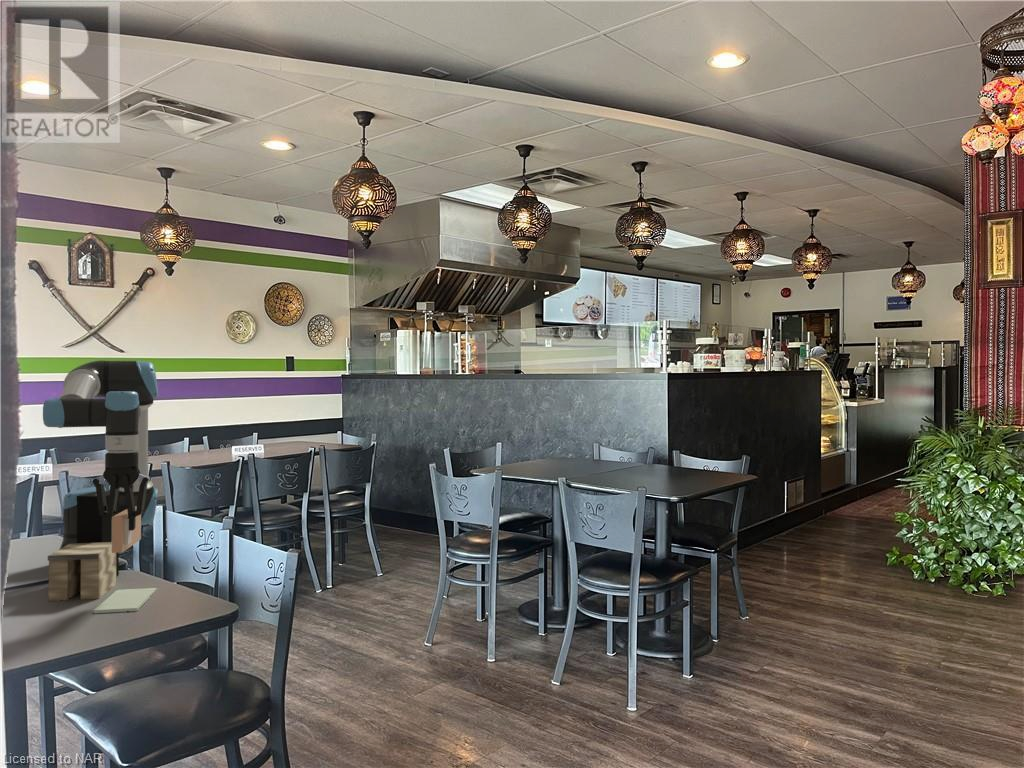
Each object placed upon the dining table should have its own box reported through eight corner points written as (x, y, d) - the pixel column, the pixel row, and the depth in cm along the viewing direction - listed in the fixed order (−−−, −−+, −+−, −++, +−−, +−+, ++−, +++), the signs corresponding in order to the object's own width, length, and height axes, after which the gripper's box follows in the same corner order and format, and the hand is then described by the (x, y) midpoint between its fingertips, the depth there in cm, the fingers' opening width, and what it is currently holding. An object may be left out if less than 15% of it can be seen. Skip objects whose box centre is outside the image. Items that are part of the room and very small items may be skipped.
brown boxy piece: (69, 586, 205) (69, 543, 204) (116, 584, 207) (116, 542, 207) (47, 602, 190) (47, 556, 190) (97, 599, 192) (98, 554, 192)
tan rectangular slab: (131, 539, 198) (131, 506, 198) (140, 539, 199) (141, 506, 199) (111, 552, 183) (111, 517, 183) (122, 552, 183) (122, 516, 183)
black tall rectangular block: (119, 575, 216) (119, 481, 216) (101, 583, 208) (102, 485, 208) (94, 574, 217) (94, 480, 217) (75, 582, 209) (76, 484, 209)
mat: (117, 592, 199) (117, 589, 199) (156, 590, 201) (156, 587, 201) (93, 613, 181) (93, 610, 181) (137, 611, 183) (137, 607, 183)
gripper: (83, 453, 181) (82, 547, 181) (150, 452, 184) (149, 545, 184) (94, 450, 188) (93, 541, 188) (158, 449, 192) (158, 539, 192)
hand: (121, 543), depth 186 cm, fingers closed on tan rectangular slab, 2 cm apart
